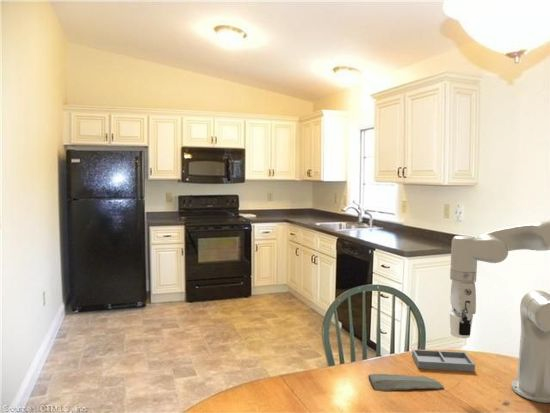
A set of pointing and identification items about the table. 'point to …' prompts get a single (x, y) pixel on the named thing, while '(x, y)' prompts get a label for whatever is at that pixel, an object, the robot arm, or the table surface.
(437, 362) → the tray
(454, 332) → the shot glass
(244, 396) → the table surface
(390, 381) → the stone slab
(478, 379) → the table surface
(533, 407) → the table surface
